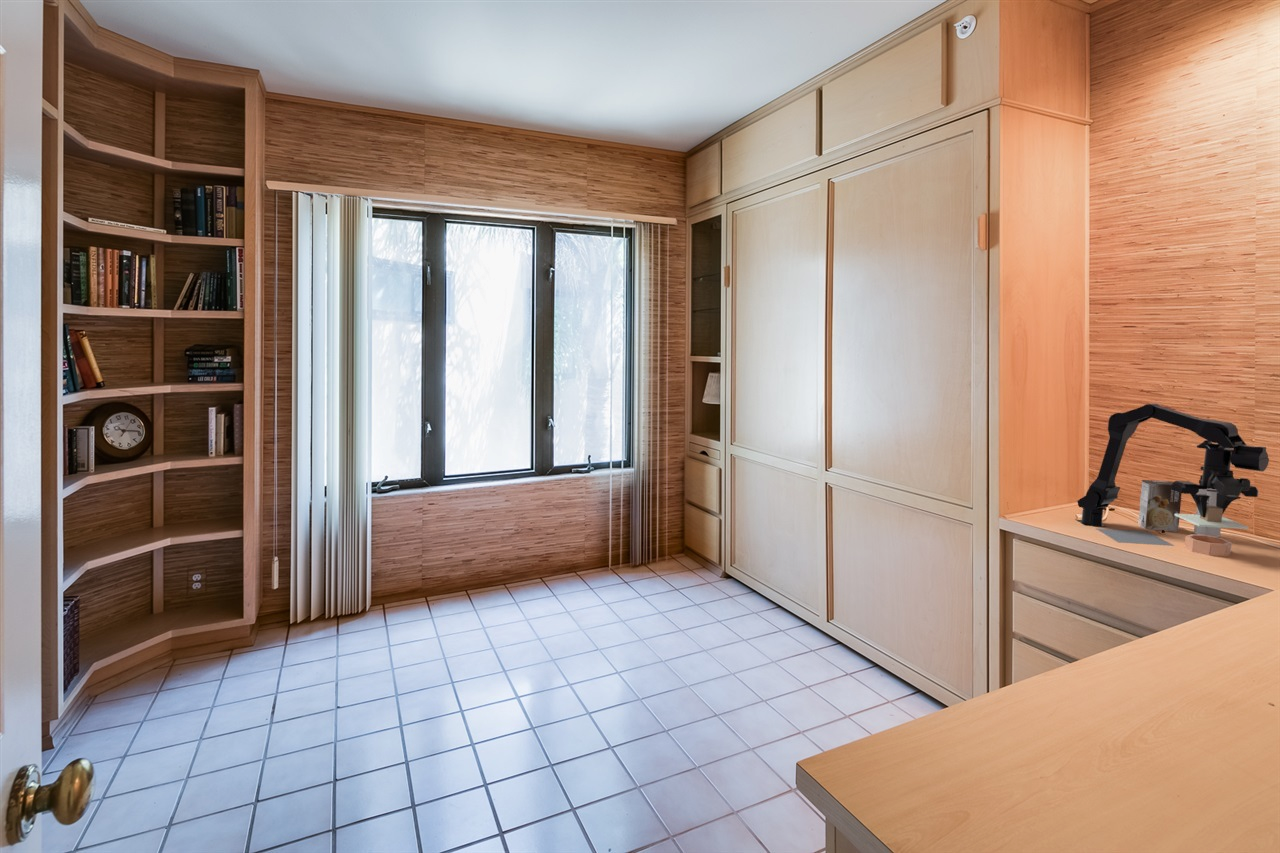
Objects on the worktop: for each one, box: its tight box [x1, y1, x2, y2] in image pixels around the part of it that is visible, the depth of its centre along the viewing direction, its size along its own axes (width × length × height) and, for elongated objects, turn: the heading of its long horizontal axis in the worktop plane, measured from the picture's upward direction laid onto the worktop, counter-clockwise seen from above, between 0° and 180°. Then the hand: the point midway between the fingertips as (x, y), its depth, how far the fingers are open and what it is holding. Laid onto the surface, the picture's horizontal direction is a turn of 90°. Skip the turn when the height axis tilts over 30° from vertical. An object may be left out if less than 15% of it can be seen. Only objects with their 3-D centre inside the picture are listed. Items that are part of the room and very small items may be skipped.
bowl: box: [1184, 533, 1233, 558], centre depth 188 cm, size 10×10×4 cm
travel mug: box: [1193, 473, 1224, 538], centre depth 201 cm, size 6×7×20 cm
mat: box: [1096, 528, 1175, 547], centre depth 202 cm, size 15×15×1 cm
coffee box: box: [1137, 479, 1183, 533], centre depth 210 cm, size 9×6×16 cm
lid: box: [1175, 505, 1250, 530], centre depth 186 cm, size 12×12×5 cm
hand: (1210, 517), depth 186 cm, fingers closed on lid, 3 cm apart
